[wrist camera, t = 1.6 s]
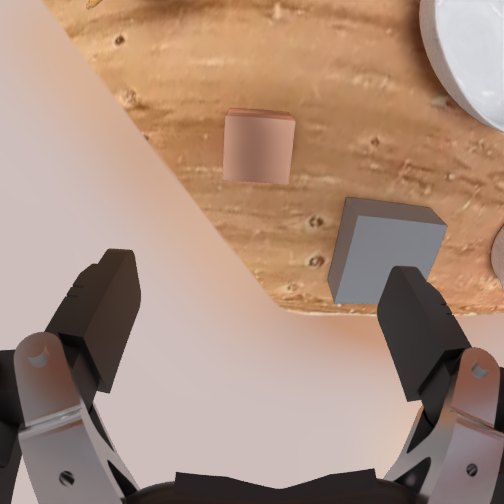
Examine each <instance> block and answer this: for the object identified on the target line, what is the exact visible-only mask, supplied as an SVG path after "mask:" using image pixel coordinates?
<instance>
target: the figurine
mask: <svg viewBox="0 0 504 504" xmlns="http://www.w3.org/2000/svg"><path fill="white" fill-rule="evenodd" d="M101 1H102V0H92V1H91V2H90V0H89V1H88V3H87V5H86V8H87V9H88V10H89V9H90V8H93V7H95V6H96V5H98V4H99V3H100V2H101Z"/></svg>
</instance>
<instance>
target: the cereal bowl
mask: <svg viewBox="0 0 504 504" xmlns="http://www.w3.org/2000/svg"><path fill="white" fill-rule="evenodd" d="M419 20H420V23H419V24H420V30H421V36H422V40H423V44H424V47H425V50H426V53H427V57H428V58H429V61H430V63H431V66H432V68H433V70H434V72H435V74H436V76H437V77H438V79H439V80H440V82H441V84H442V86H443V87H444V88H445V89H446V91H447V92H448V94H449V95H450V96H451V97H452V99H453V100H455V101H456V102H457V104H458V105H459V106H460V107H462V109H463V110H465V111H466V112H468V113H469V114H470V115H471V116H472V117H474V118H475V119H477V120H478V121H480V122H482V123H483V124H486V125H487V126H489V127H491V128H494V129H496V130H499V131H501V132H503V133H504V0H421V2H420V11H419Z"/></svg>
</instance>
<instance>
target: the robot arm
mask: <svg viewBox="0 0 504 504" xmlns="http://www.w3.org/2000/svg"><path fill="white" fill-rule="evenodd" d="M140 302H141V290H140V284H139V278H138V273H137V267H136V261H135V255H134V253H133V251H132V250H125V249H108V250H107V251H106V252H105V254H104V255H103V257H102V258H101V260H100V261H99V263H98V264H91V265H90V266H89V267H88V268H86V269H85V270H84V271H82V272H81V273H80V274H79V276H78V277H77V279H76V280H75V282H74V283H73V287H71V288H70V290H69V291H68V293H67V297H65V298H64V299H63V301H62V303H61V304H60V306H59V307H58V309H57V311H56V312H55V314H54V316H53V318H52V319H51V321H50V323H49V324H48V326H47V328H46V330H45V331H44V332H38V333H34V334H32V335H29V336H28V337H26V338H25V339H24V340H22V341H21V342H20V343H19V345H18V346H17V348H16V350H2V351H0V504H11V500H12V495H13V490H14V486H15V481H16V476H17V472H18V468H19V464H20V460H21V456H22V455H23V458H24V462H25V465H26V468H27V471H28V475H29V478H30V481H31V483H32V486H33V489H34V492H35V494H36V497H37V500H38V503H39V504H504V368H503V367H499V366H498V364H497V362H496V360H495V359H494V357H493V356H491V354H489V353H488V352H487V351H485V350H483V349H481V348H475V347H472V346H471V345H470V343H469V341H468V339H467V338H466V336H465V334H464V332H463V331H462V329H461V327H460V325H459V323H458V322H457V320H456V319H455V317H454V315H452V312H451V310H450V308H449V307H448V306H446V304H447V303H446V302H445V300H444V299H443V297H442V295H441V294H440V292H439V291H438V290H436V289H435V288H434V287H433V286H432V285H431V284H430V283H429V282H427V281H426V280H425V278H424V277H423V275H422V273H421V272H420V270H419V269H418V268H417V267H414V266H394V267H393V268H392V269H391V271H390V274H389V277H388V279H387V282H386V285H385V287H384V290H383V293H382V295H381V298H380V300H379V303H378V308H377V317H378V321H379V324H380V327H381V329H382V332H383V334H384V337H385V340H386V342H387V345H388V348H389V350H390V353H391V356H392V358H393V361H394V364H395V367H396V370H397V372H398V375H399V378H400V381H401V384H402V387H403V390H404V393H405V396H406V399H407V402H409V401H416V400H422V404H423V405H422V406H421V408H420V409H419V411H418V413H417V416H416V418H415V421H414V423H413V426H412V428H411V431H410V433H409V435H408V438H407V440H406V443H405V445H404V447H403V449H402V451H401V453H400V455H399V457H398V459H397V461H396V462H395V464H394V465H393V466H392V467H391V468H390V470H389V471H388V472H387V474H386V475H385V477H384V478H383V479H377V478H376V475H375V469H374V468H373V469H368V470H361V471H354V472H347V473H338V474H330V475H327V476H324V477H321V478H318V479H315V480H312V481H308V482H305V483H302V484H298V485H295V486H291V487H288V488H284V489H275V488H270V487H265V486H261V485H257V484H252V483H248V482H244V481H240V480H236V479H233V478H229V477H223V476H209V475H198V474H189V473H180V472H176V478H175V481H173V482H165V483H160V484H155V485H152V486H149V487H146V488H143V489H141V490H140V488H139V487H138V485H137V483H136V482H135V480H134V478H133V477H132V475H131V473H130V472H129V470H128V469H127V467H126V466H125V464H124V463H123V461H122V460H121V458H120V456H119V455H118V453H117V451H116V449H115V447H114V445H113V443H112V441H111V439H110V437H109V435H108V433H107V430H106V428H105V426H104V424H103V422H102V419H101V417H100V415H99V413H98V410H97V408H96V406H95V404H94V402H93V400H94V397H95V394H96V391H100V392H105V393H110V391H111V388H112V385H113V381H114V378H115V375H116V372H117V369H118V366H119V363H120V360H121V357H122V354H123V352H124V349H125V346H126V343H127V341H128V338H129V335H130V332H131V329H132V326H133V324H134V321H135V319H136V316H137V313H138V311H139V308H140Z"/></svg>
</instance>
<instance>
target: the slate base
mask: <svg viewBox="0 0 504 504" xmlns="http://www.w3.org/2000/svg"><path fill="white" fill-rule="evenodd" d="M447 227H448V226H447V224H446V223H445V222H444V221H443V220H442V219H441V218H440V217H439V216H438V215H437V214H436V213H435V212H434V211H433V210H432V209H431V208H427V207H420V206H413V205H406V204H399V203H392V202H384V201H376V200H368V199H359V198H350V197H346V201H345V206H344V211H343V215H342V220H341V225H340V229H339V234H338V238H337V242H336V247H335V251H334V255H333V259H332V263H331V267H330V271H329V275H328V279H327V280H328V283H329V287H330V290H331V293H332V297H333V300H334V303H345V304H378V303H379V300H380V298H381V295H382V293H383V290H384V287H385V285H386V282H387V279H388V277H389V274H390V271H391V269H392V268H393V267H394V266H414V267H417V268H418V269H419V270H420V272H421V273H422V275H423V277H424V278H425V280H427V278H428V276H429V273H430V271H431V268H432V266H433V264H434V261H435V259H436V256H437V254H438V251H439V248H440V246H441V243H442V240H443V238H444V235H445V232H446V229H447Z"/></svg>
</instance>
